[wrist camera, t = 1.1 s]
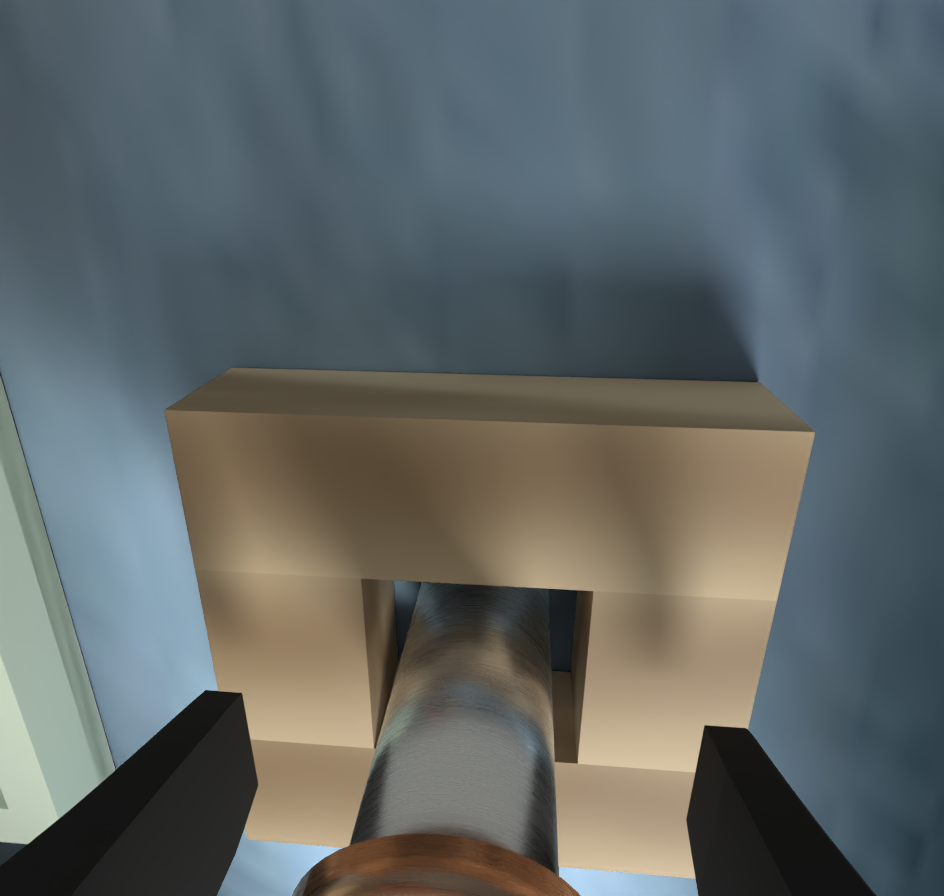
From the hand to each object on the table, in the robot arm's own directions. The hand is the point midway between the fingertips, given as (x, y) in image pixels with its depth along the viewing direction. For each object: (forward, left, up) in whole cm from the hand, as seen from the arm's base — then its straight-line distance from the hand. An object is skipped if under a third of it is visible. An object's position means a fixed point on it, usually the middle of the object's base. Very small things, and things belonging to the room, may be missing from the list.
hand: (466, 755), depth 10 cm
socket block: (0, 0, -4) cm, 4 cm away
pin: (0, 0, -4) cm, 4 cm away
